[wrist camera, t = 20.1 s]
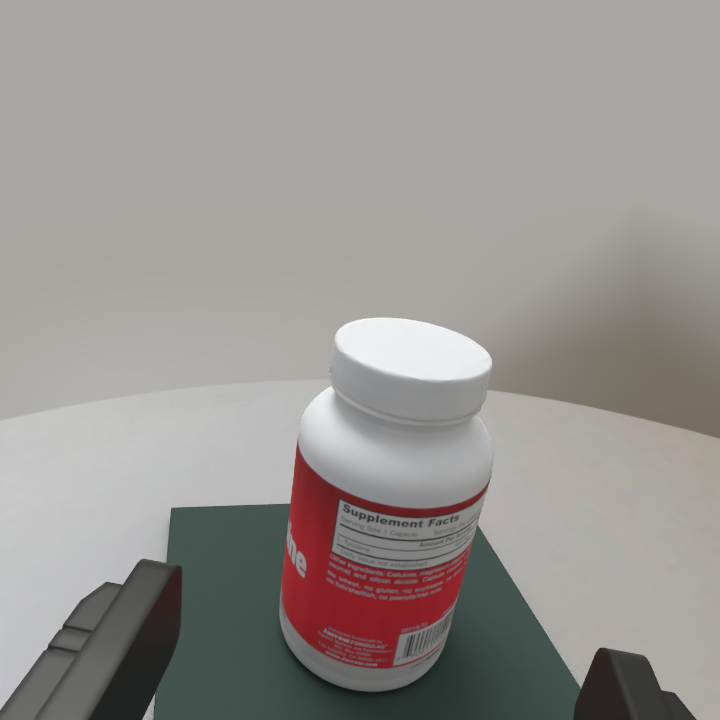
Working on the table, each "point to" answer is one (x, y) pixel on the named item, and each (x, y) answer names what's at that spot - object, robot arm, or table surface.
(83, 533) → the table surface
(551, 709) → the mat
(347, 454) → the pill bottle
